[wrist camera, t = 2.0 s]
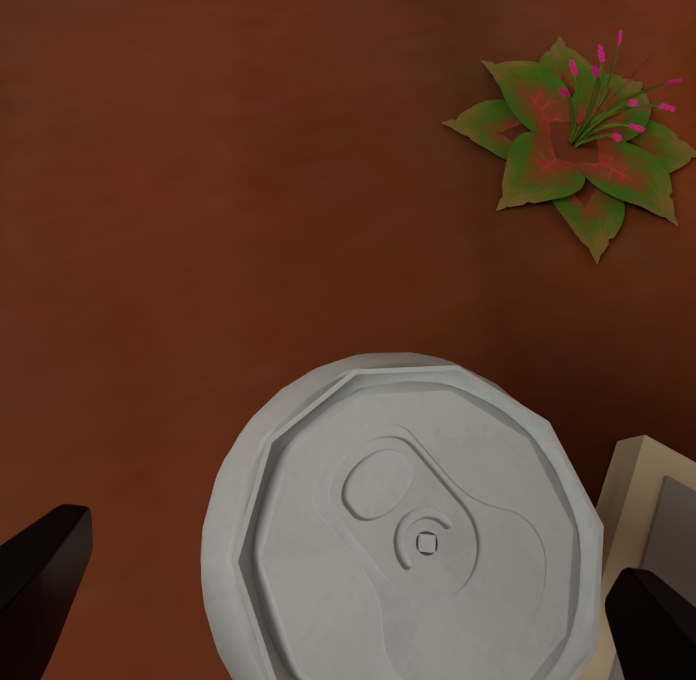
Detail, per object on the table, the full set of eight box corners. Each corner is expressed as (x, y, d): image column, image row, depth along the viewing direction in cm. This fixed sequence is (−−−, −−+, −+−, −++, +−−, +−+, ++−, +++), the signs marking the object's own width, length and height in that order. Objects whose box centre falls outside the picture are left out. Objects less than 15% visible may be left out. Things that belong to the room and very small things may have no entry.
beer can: (310, 650, 15) (419, 997, 4) (213, 521, 16) (84, 518, 5) (424, 537, 17) (728, 565, 6) (330, 424, 18) (434, 253, 6)
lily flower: (389, 128, 23) (416, 38, 19) (548, 16, 27) (600, -80, 23) (594, 318, 21) (676, 267, 17) (732, 168, 25) (827, 95, 21)
